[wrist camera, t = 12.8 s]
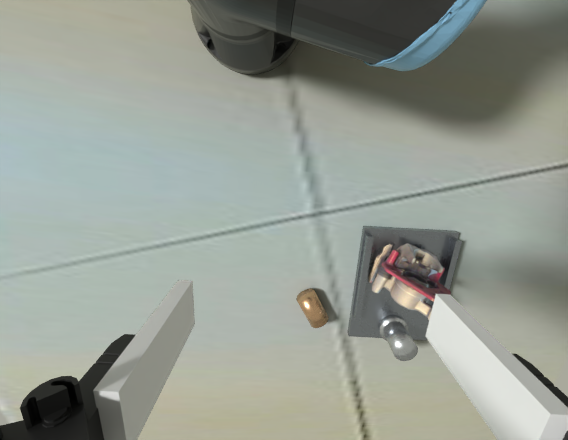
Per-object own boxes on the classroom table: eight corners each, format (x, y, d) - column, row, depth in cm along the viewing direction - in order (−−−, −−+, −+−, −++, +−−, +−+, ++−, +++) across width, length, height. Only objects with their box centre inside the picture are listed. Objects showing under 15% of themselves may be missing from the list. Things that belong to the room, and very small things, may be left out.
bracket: (363, 225, 47) (375, 240, 40) (455, 230, 47) (483, 246, 40) (347, 332, 53) (356, 361, 46) (428, 337, 53) (449, 366, 46)
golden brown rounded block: (294, 296, 50) (300, 305, 47) (310, 286, 51) (317, 294, 47) (308, 321, 52) (314, 331, 48) (323, 310, 52) (331, 320, 49)
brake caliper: (461, 248, 44) (477, 322, 37) (417, 273, 53) (422, 337, 45) (398, 225, 43) (401, 296, 36) (363, 255, 52) (360, 317, 44)
